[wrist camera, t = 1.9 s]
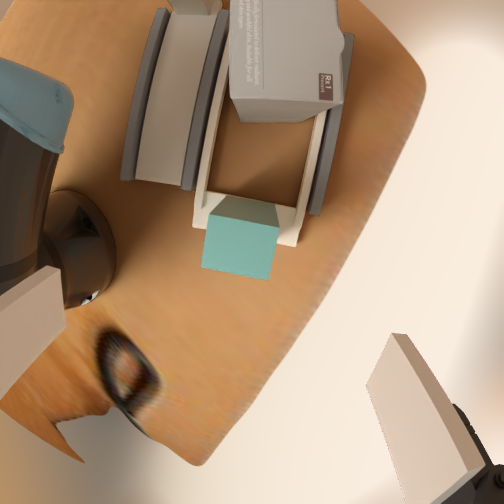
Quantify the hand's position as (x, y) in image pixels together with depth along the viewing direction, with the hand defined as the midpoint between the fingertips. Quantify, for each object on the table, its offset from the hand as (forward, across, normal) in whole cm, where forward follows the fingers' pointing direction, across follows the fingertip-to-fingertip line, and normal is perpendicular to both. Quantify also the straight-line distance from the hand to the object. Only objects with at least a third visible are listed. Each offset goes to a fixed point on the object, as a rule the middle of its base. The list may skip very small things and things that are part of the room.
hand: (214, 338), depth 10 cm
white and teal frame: (+22, 0, +9) cm, 24 cm away
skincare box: (+23, 0, +14) cm, 27 cm away
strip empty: (+22, -10, +13) cm, 28 cm away
